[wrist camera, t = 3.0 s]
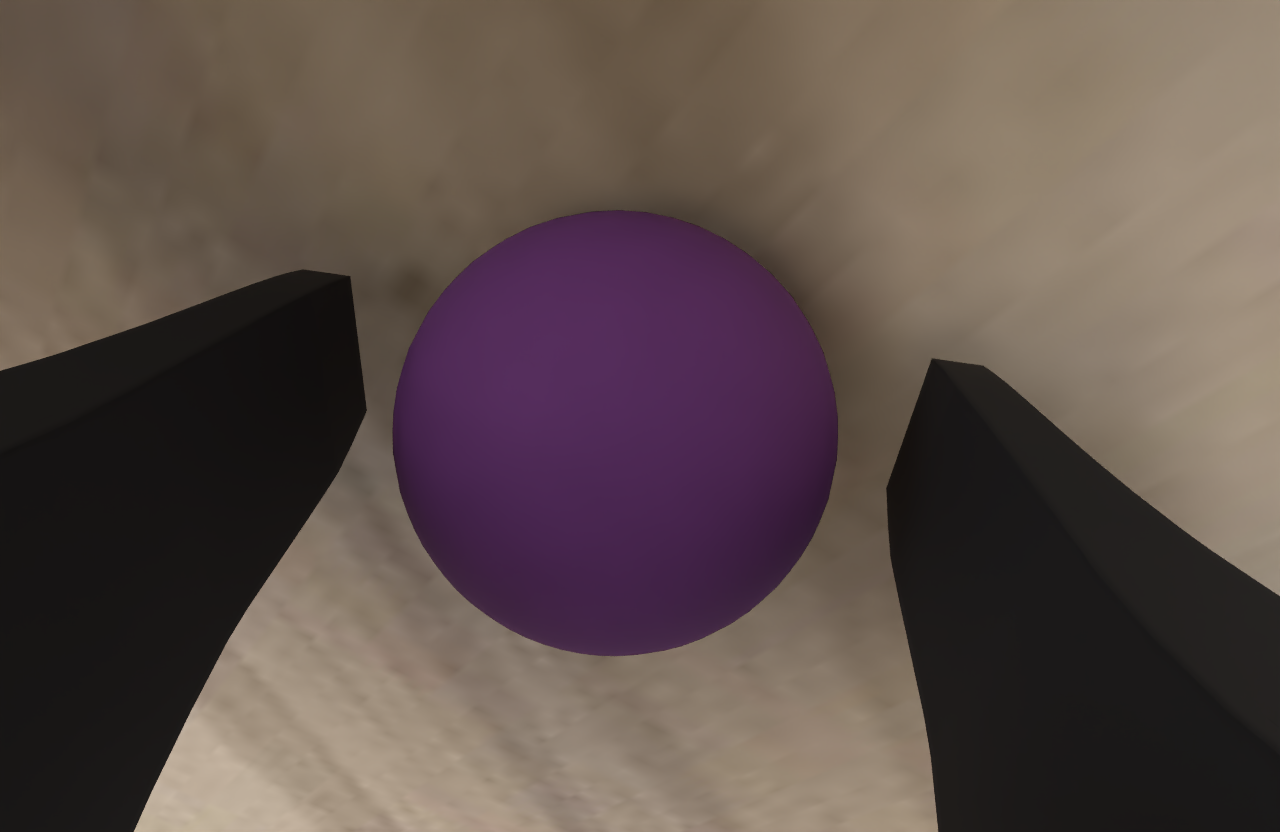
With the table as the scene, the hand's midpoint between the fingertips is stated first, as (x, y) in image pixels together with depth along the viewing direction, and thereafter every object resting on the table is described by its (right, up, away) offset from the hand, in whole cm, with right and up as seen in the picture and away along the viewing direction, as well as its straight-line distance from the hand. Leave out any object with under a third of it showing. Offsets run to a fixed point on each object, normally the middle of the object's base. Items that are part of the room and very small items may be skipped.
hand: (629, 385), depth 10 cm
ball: (0, -1, -1) cm, 1 cm away
